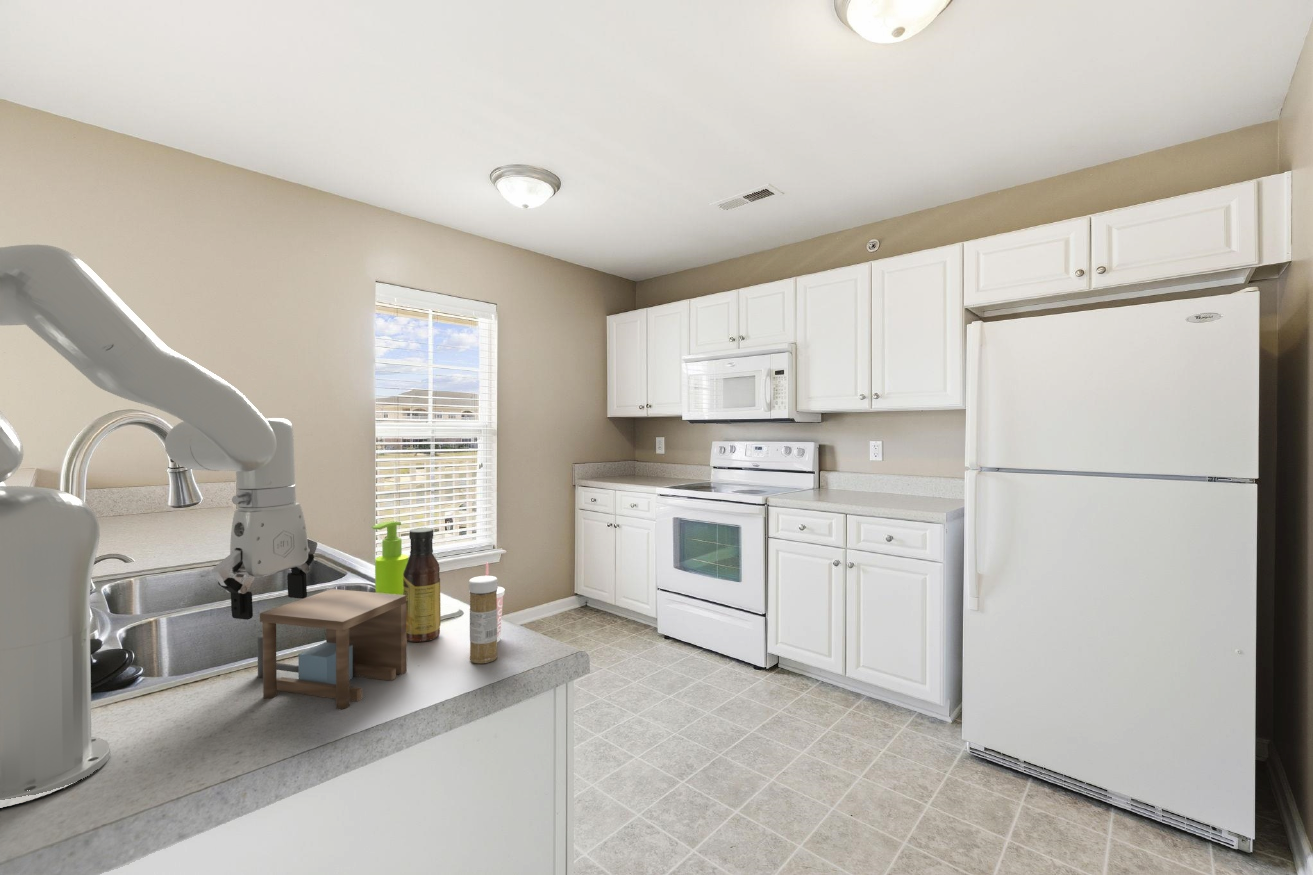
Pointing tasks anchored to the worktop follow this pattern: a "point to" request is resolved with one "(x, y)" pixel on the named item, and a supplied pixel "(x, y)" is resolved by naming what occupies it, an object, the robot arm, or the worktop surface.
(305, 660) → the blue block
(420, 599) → the sauce bottle
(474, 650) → the sprinkles bottle
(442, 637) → the worktop surface
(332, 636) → the walnut shelf
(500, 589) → the beverage cup
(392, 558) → the soap dispenser
